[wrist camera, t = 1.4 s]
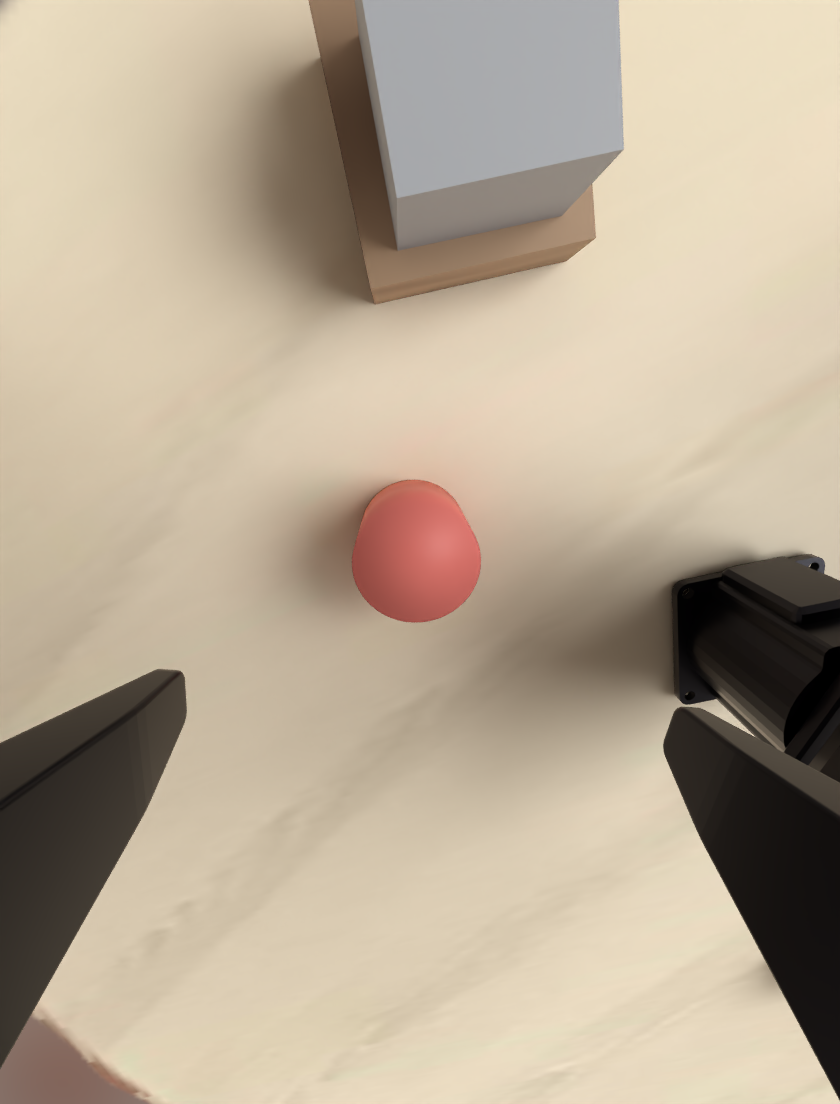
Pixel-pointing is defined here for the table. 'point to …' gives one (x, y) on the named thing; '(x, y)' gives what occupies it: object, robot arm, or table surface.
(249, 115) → the table surface
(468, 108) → the grey block
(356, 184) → the walnut slab
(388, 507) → the red cylinder
